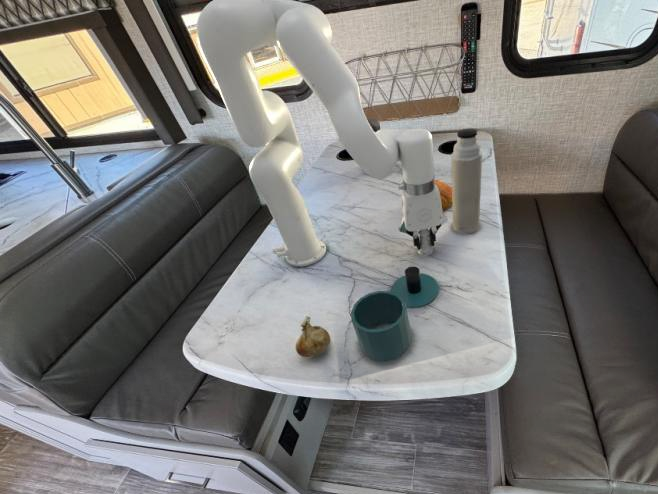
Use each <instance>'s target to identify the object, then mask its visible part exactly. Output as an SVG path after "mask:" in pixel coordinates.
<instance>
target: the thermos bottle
mask: <svg viewBox="0 0 658 494" xmlns="http://www.w3.org/2000/svg"><path fill="white" fill-rule="evenodd" d="M477 135H478V130H477V129H475V128H472V127H471V128H469V127H468V128H463V129H459V130H458V131H457V139H456V140H457V141H456V143H455V144H454V145H453V152H452V153H451V156H450V157H451V159H450V160H451V187H452V205H451V206H452V229H453V230H454V231H455V232H459V233H468V234H472V233H475V232H477V231H478V230H479V228H480V220H481V219H480V218H481V217H480V216H481V193H482V192H481V191H482V172H483V171H482V170H483V168H482V167H483V151H482V150H481V148H482V147H481V144H480V142H479V141H477V139H478V137H477Z"/></svg>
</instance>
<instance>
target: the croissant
mask: <svg viewBox="0 0 658 494" xmlns="http://www.w3.org/2000/svg"><path fill="white" fill-rule="evenodd" d="M435 185H436V186H437V187H438V189H439V192H440V197H441V203H442V211H445V210H448V208H450V207H452V206H453V205H452V185H449V183H446V182H444V181H441V180H439V179H435Z"/></svg>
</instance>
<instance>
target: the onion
mask: <svg viewBox="0 0 658 494" xmlns="http://www.w3.org/2000/svg"><path fill="white" fill-rule="evenodd" d="M311 320H312V319H311V316H308V315H306V316H305V317H304V320H303V322H302V323H301V324H300V327H301V329H300V331H302V332H301V335H300V336H299V337H298V338H297V340H296V343H295V352H296V353H297V354H298V356H300V357H302V358H316V357H318V356H320V355H321V354H322V353H324V352H325V351H326V350H327V348H328V347H329V346H330V343H331V336H330V334H329V331H327V330H326V329H325V328H323V327H321V326H320V325H314V326H313V325H312V324H311Z"/></svg>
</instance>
